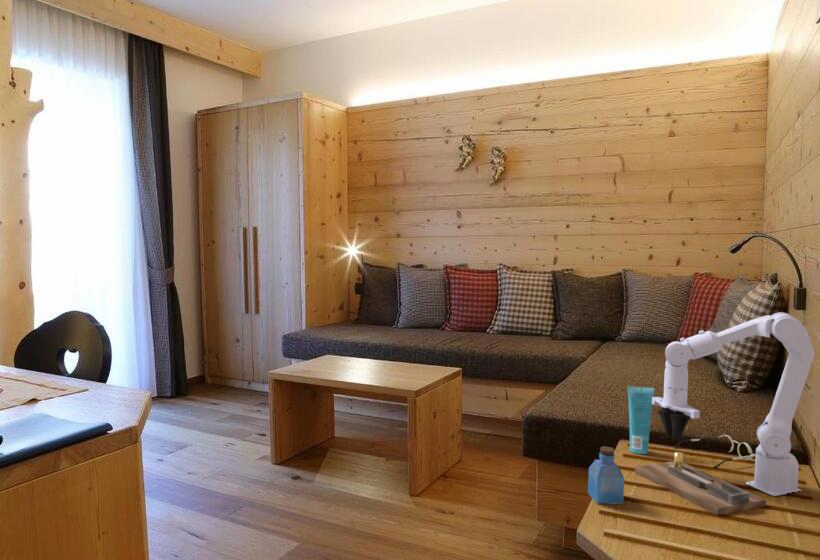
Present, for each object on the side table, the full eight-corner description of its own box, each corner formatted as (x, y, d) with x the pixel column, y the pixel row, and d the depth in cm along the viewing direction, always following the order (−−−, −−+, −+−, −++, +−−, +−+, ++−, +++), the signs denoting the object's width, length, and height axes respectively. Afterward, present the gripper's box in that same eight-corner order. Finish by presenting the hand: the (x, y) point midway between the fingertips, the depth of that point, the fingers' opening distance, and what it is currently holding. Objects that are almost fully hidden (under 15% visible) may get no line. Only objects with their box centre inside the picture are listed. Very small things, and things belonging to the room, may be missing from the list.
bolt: (674, 469, 152) (675, 450, 152) (712, 487, 141) (713, 466, 141) (668, 470, 152) (669, 450, 151) (706, 488, 140) (707, 467, 140)
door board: (679, 465, 159) (679, 453, 159) (765, 506, 135) (766, 491, 135) (635, 472, 154) (635, 459, 154) (716, 515, 130) (717, 499, 130)
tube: (648, 449, 172) (651, 385, 171) (654, 455, 167) (657, 389, 166) (623, 448, 173) (625, 384, 172) (627, 454, 168) (630, 388, 167)
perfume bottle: (613, 492, 141) (614, 444, 140) (623, 504, 135) (625, 453, 134) (587, 492, 141) (589, 444, 140) (596, 504, 134) (598, 453, 134)
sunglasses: (759, 466, 161) (760, 448, 161) (713, 470, 158) (714, 452, 157) (714, 446, 178) (715, 430, 177) (671, 449, 174) (672, 432, 174)
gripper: (643, 382, 159) (641, 430, 160) (685, 395, 145) (683, 448, 146) (664, 380, 161) (662, 428, 162) (706, 393, 148) (704, 445, 148)
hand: (673, 437), depth 154 cm, fingers closed
